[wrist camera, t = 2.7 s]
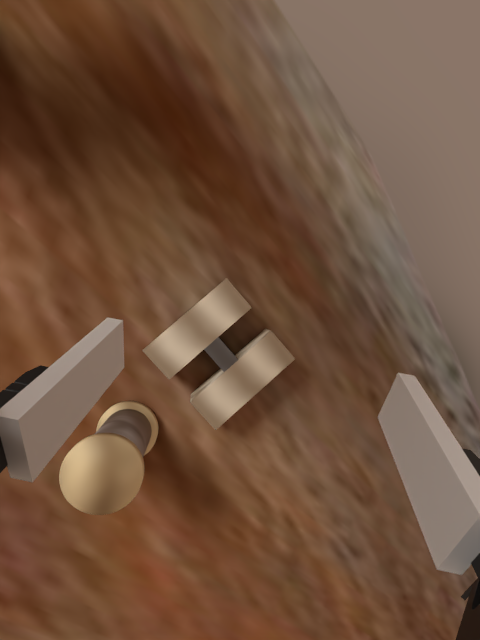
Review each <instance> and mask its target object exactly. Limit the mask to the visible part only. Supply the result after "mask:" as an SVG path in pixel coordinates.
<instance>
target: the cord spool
mask: <svg viewBox="0 0 480 640" xmlns="http://www.w3.org/2000/svg"><path fill="white" fill-rule="evenodd" d="M158 430H159V427H158V421H157V418H156V416H155V414H154V413H153V411H152V410H151V409H150V408H149V407H147V406H146V405H144V404H142V403H140V402H136V401H123V402H119V403H117V404H115V405H113V406H112V407H110V408H109V409H108V410H107V411H106V412H105V413H104V414H103V415H102V417H101V418H100V420H99V422H98V425H97V429H96V433H95V434H93V435H91V436H88V437H86V438H84V439H83V440H81V441H80V442H78V443H77V444H76V445H75V446H74V447H73V448H72V449H71V451H70V452H69V453H68V454H67V455H66V457H65V458H64V460H63V462H62V465H61V468H60V473H59V482H60V487H61V490H62V493H63V495H64V497H65V498H66V499H67V501H68V502H69V503H70V504H71V505H72V506H74V507H75V508H76V509H78V510H80V511H82V512H85V513H88V514H93V515H104V514H110V513H113V512H116V511H118V510H120V509H122V508H124V507H125V506H126V505H128V504H129V503H130V502H131V501H132V500H133V499H134V498H135V496H136V495H137V493H138V491H139V489H140V487H141V484H142V481H143V477H144V471H145V467H144V460H143V457H144V455H146V454H147V453H148V452H149V451H150V450H151V449H152V447H153V446H154V444H155V442H156V439H157V436H158Z"/></svg>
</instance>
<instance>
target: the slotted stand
mask: <svg viewBox="0 0 480 640" xmlns="http://www.w3.org/2000/svg"><path fill="white" fill-rule="evenodd" d="M251 308H252V307H251V306H250V305H249V304H248V303H247V301H246V300H245V299H244V298H243V297H242V296H241V294H240V293H239V292H238V291H237V290H236V289H235V287H234V286H233V285H232V284H231V283H230V281H229V280H228V279H227V278H226V279H225V280H224V281H223V282H222V283H220V284H219V285H218V286H217V287H216V288H215V289H213V290H212V291H211V292H210V293H209V294H208V295H206V296H205V297H204V298H203V299H202V300H201V301H199V302H198V303H197V304H196V305H195V306H194V307H192V308H191V309H190V310H189V311H188V312H187V313H185V314H184V315H183V316H182V317H181V318H180V319H178V320H177V321H176V322H175V323H174V324H173V325H171V326H170V327H169V328H168V329H167V330H166V331H164V332H163V333H162V334H161V335H160V336H159V337H157V338H156V339H155V340H154V341H153V342H152V343H150V344H149V345H148V346H147V347H146V348H145V349H143V350H142V351H143V352H144V353H145V354H146V355H147V356H148V357H149V358H150V359H151V360H152V362H153V363H154V364H155V365H156V366H157V367H158V368H159V369H160V370H161V371H162V372H163V374H164V375H165V376H166V377H167V378H168V379H171V378H172V377H173V376H174V375H175V374H176V373H177V372H179V371H180V370H181V369H182V368H183V367H184V366H185V365H187V364H188V363H189V362H190V361H191V360H192V359H194V358H195V357H196V356H197V355H198V354H199V353H200V352H202V351H203V350H205V351H206V352H207V354H208V355H209V356H210V357H211V358H212V359H213V360H214V361H215V363H216V364H217V365H218V366H219V367H220V369H219V370H218V371H217V372H215V373H214V374H213V375H212V376H211V377H210V378H209V379H207V380H206V381H205V382H204V383H203V384H202V385H201V386H200V387H198V388H197V389H196V390H195V391H194V392H193V393H192V394H191V399H190V403H191V404H192V405H193V406H194V407H195V408H196V409H197V411H198V412H199V413H200V414H201V415H202V416H203V417H204V418H205V419H206V420H207V421H208V422H209V424H210V425H211V426H212V427H213V428H214V429H215V430H217V429H218V428H219V427H220V426H221V425H222V424H223V423H224V422H226V421H227V420H228V419H229V418H230V417H231V416H232V415H233V414H234V413H236V412H237V411H238V410H239V409H240V408H241V407H242V406H243V405H244V404H246V403H247V402H248V401H249V400H250V399H251V398H252V397H253V396H254V395H256V394H257V393H258V392H259V391H260V390H261V389H262V388H263V387H264V386H266V385H267V384H268V383H269V382H270V381H271V380H272V379H273V378H274V377H276V376H277V375H278V374H279V373H280V372H281V371H282V370H283V369H284V368H286V367H287V366H288V365H289V364H290V363H291V362H292V361H293V360H294V359H295V358H294V357H293V356H292V355H291V353H290V352H289V351H288V350H287V349H286V347H285V346H284V345H283V344H282V343H281V342H280V340H279V339H278V338H277V337H276V336H275V334H274V333H273V332H272V331H271V330H268V329H264V330H263V331H262V332H261V333H260V334H258V335H257V336H256V337H255V338H254V339H253V340H252V341H251V342H249V343H248V344H247V345H246V346H245V347H244V348H243V349H241V350H240V351H239V352H238V353H237V354H236V355H234V354H233V353H232V352H231V350H230V349H229V348H228V347H227V346H226V345H225V344H224V342H223V341H222V340H221V339H220V338H219V336H220V335H221V334H222V333H223V332H224V331H226V330H227V329H228V328H229V327H230V326H231V325H232V324H234V323H235V322H236V321H237V320H238V319H239V318H241V317H242V316H243V315H244V314H245V313H246V312H247V311H249V310H250V309H251Z"/></svg>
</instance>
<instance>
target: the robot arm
mask: <svg viewBox="0 0 480 640" xmlns="http://www.w3.org/2000/svg"><path fill="white" fill-rule="evenodd" d="M123 368H124V338H123V320H118V319H113V318H106V319H105V320H104V321H103V322H102V323H101V324H99V325H98V326H97V327H96V328H95V329H93V330H92V331H91V332H90V333H89V334H88V335H86V336H85V337H84V338H83V339H82V340H80V341H79V342H78V343H77V344H76V345H75V346H73V347H72V348H71V349H70V350H69V351H68V352H66V353H65V354H64V355H63V356H62V357H60V358H59V359H58V360H57V361H56V362H55V363H53V364H52V365H51V366H50V367H45V366H39V367H36V368H34V369H32V370H30V371H28V372H26V373H24V374H23V375H22V376H21V377H19V378H18V379H17V380H15V382H14V383H12V384H10V385H9V386H8V387H7V388H6V390H3V391H2V392H0V473H1V472H2V470H3V469H4V468H5V467H6V466H7V467H8V471H9V474H10V478H15V479H20V480H24V481H29V482H33V481H34V480H35V479H36V477H37V476H38V475H39V474H40V472H41V471H42V470H43V469H44V467H45V466H46V465H47V464H48V462H49V461H50V460H51V459H52V457H53V456H54V455H55V454H56V452H57V451H58V450H59V449H60V447H61V446H62V445H63V444H64V442H65V441H66V440H67V438H68V437H69V436H70V435H71V433H72V432H73V431H74V430H75V428H76V427H77V426H78V425H79V423H80V422H81V421H82V420H83V418H84V417H85V416H86V415H87V413H88V412H89V411H90V410H91V408H92V407H93V406H94V405H95V403H96V402H97V401H98V400H99V398H100V397H101V396H102V395H103V393H104V392H105V391H106V390H107V388H108V387H109V386H110V385H111V383H112V382H113V381H114V380H115V378H116V377H117V376H118V374H119V373H120V372H121V371H122V369H123ZM378 420H379V422H380V425H381V427H382V430H383V432H384V435H385V438H386V440H387V443H388V445H389V448H390V450H391V453H392V456H393V458H394V461H395V463H396V466H397V468H398V471H399V474H400V476H401V479H402V481H403V484H404V487H405V489H406V492H407V494H408V497H409V499H410V502H411V505H412V507H413V510H414V512H415V515H416V517H417V520H418V523H419V525H420V528H421V530H422V533H423V535H424V538H425V541H426V543H427V546H428V548H429V551H430V554H431V556H432V559H433V561H434V564H435V566H436V569H437V570H441V571H446V572H450V573H455V574H460V575H462V574H463V573H464V572H465V571H466V570H467V569H468V567H469V566H470V565H471V564H472V566H473V568H474V570H475V572H476V574H477V577H478V579H477V580H476V581H475V582H474V583H473V584H472V585H471V586H470V587H469V588H468V589H467V590H466V591H465V592H464V594H463V595H462V596H461V597H462V598H463V599H464V600H466V599H467V598H468V597H469V598H468V601H467V605H466V608H465V611H464V614H463V618H462V621H461V624H460V627H459V631H458V634H457V637H456V640H480V459H479V458H478V457H477V456H476V455H475V454H474V453H473V452H472V451H471V450H467V449H462V448H461V447H460V445H459V443H458V442H457V440H456V439H455V437H454V436H453V434H452V433H451V431H450V429H449V428H448V426H447V425H446V423H445V422H444V420H443V419H442V417H441V416H440V414H439V412H438V411H437V409H436V408H435V406H434V405H433V403H432V402H431V400H430V399H429V397H428V395H427V394H426V392H425V391H424V389H423V388H422V386H421V385H420V383H419V382H418V380H417V378H416V377H415V376H413V375H408V374H402V373H398V374H397V376H396V378H395V380H394V383H393V385H392V387H391V389H390V391H389V393H388V396H387V398H386V400H385V402H384V404H383V406H382V409H381V411H380V413H379V415H378Z"/></svg>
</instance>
